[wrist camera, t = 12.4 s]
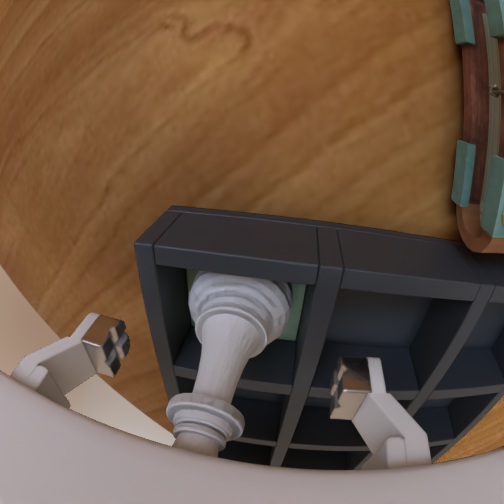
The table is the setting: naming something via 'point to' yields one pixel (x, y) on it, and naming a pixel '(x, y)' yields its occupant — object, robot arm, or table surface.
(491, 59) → the decorative book
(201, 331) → the chess piece
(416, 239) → the grid
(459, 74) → the table surface
